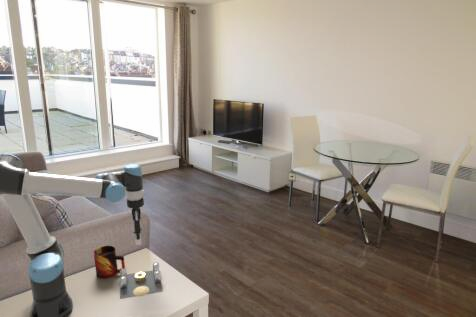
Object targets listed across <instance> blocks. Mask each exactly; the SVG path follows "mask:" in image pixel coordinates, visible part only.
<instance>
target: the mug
mask: <svg viewBox="0 0 476 317" xmlns="http://www.w3.org/2000/svg"><path fill="white" fill-rule="evenodd" d="M116 253H117V251H116V247H115V246H113V245H104V246H100V247H98V248H96V249H95V250H94V251H93V258H94V259H93V260H94V267H95V274H96V277H97V278H98V279H103V280H104V279H105V280H106V279H110V278H112V277H115V276H116V275H117V274H120V268H118V262H117V261H121V262H120V263H121V268H122V267H125V268H126V265H125V264H126V262H125V256H122V255H117V254H116Z"/></svg>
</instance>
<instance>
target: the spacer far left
mask: <svg viewBox="0 0 476 317" xmlns="http://www.w3.org/2000/svg"><path fill="white" fill-rule="evenodd" d="M119 269H120V273H119V278H120V277H121V276H126V278H127V274H128V273H127V267H126V266H125V267H122V266H121V267H120V268H119Z"/></svg>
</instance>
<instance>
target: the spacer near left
mask: <svg viewBox="0 0 476 317" xmlns="http://www.w3.org/2000/svg"><path fill="white" fill-rule="evenodd" d="M118 279H119V290H120V289H126V288H127V278H126V276H121V277H120V276H119V278H118Z"/></svg>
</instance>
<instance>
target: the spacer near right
mask: <svg viewBox="0 0 476 317" xmlns="http://www.w3.org/2000/svg"><path fill="white" fill-rule="evenodd" d="M161 278H162V276H161V270H160V269H159V270H156V271H154V283H160V282H161V283H162V279H161Z"/></svg>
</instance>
